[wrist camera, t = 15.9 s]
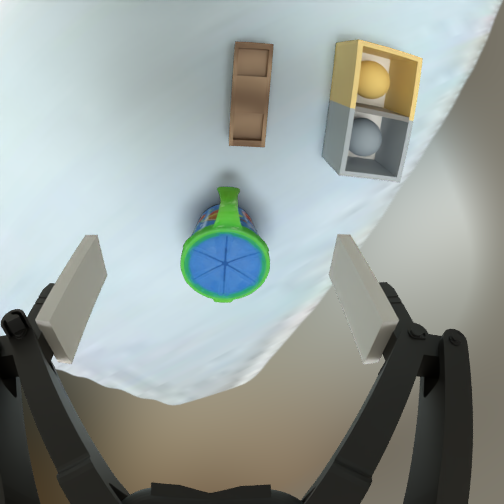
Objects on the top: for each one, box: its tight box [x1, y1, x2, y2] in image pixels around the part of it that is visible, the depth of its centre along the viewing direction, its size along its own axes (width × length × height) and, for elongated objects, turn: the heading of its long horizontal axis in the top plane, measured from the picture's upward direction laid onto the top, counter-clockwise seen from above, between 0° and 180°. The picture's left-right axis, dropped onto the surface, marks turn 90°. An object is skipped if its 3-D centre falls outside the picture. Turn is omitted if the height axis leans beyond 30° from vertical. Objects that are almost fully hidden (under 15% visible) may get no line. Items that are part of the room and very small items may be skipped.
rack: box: [229, 42, 274, 147], centre depth 33 cm, size 12×4×5 cm, turn 176°
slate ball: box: [349, 118, 382, 156], centre depth 36 cm, size 5×5×5 cm
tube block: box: [322, 39, 423, 183], centre depth 34 cm, size 16×8×8 cm, turn 176°
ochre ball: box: [357, 60, 390, 99], centre depth 32 cm, size 5×5×5 cm
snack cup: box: [180, 187, 270, 302], centre depth 41 cm, size 16×10×10 cm
